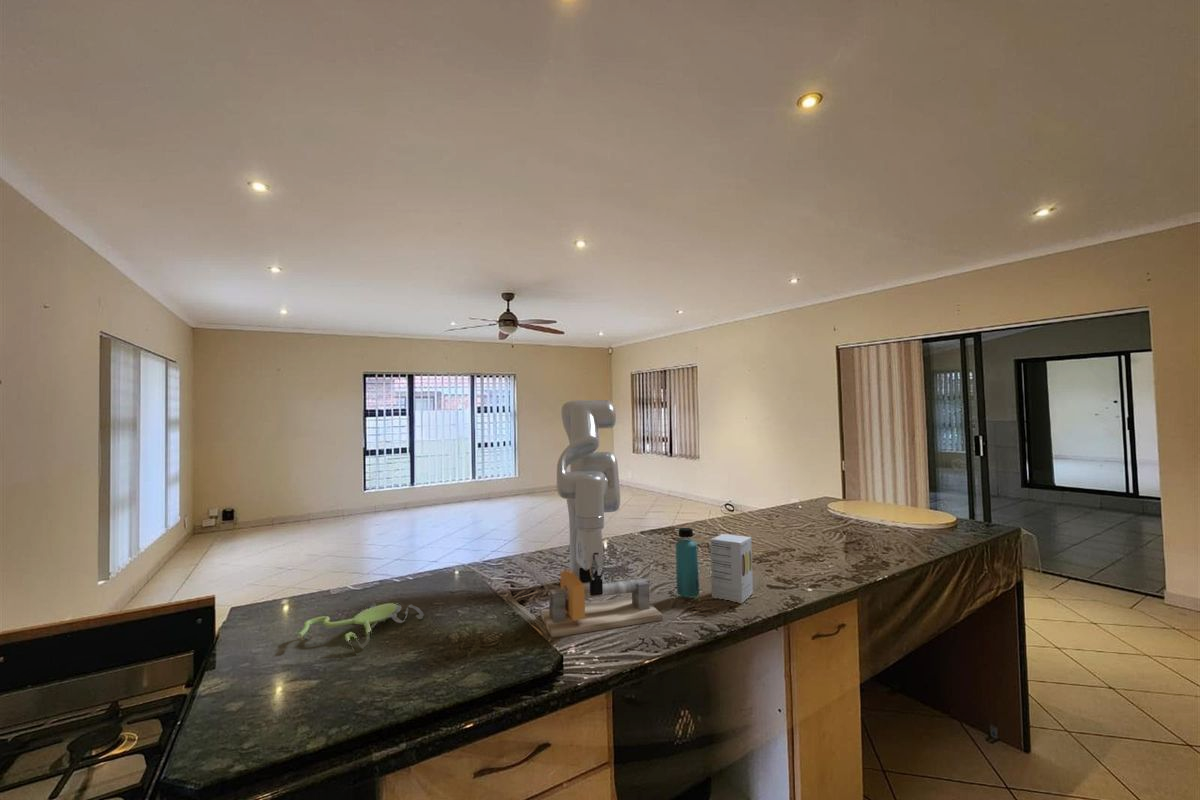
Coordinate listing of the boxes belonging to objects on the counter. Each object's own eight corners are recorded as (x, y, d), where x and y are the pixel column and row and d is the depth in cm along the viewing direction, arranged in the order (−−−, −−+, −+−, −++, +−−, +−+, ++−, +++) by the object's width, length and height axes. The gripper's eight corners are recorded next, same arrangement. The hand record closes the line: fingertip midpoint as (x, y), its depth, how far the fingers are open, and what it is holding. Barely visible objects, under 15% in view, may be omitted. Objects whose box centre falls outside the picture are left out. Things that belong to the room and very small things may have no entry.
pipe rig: (540, 615, 122) (540, 582, 123) (640, 601, 131) (640, 570, 132) (551, 637, 109) (551, 600, 109) (662, 620, 118) (661, 585, 118)
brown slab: (560, 601, 123) (560, 571, 124) (571, 600, 124) (571, 570, 125) (573, 620, 111) (572, 586, 112) (584, 618, 112) (584, 585, 113)
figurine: (286, 650, 106) (287, 625, 106) (381, 607, 130) (381, 587, 131) (344, 664, 99) (344, 637, 99) (432, 616, 123) (432, 595, 124)
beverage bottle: (699, 603, 129) (697, 531, 130) (675, 602, 130) (674, 530, 131) (699, 595, 135) (697, 526, 136) (676, 593, 136) (675, 525, 138)
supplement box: (742, 605, 127) (740, 543, 128) (711, 598, 133) (709, 538, 134) (753, 594, 135) (751, 536, 136) (723, 588, 140) (722, 532, 141)
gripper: (567, 517, 128) (568, 579, 127) (585, 530, 111) (586, 602, 111) (593, 515, 130) (594, 576, 129) (614, 528, 114) (615, 598, 113)
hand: (590, 588), depth 120 cm, fingers open, 9 cm apart
